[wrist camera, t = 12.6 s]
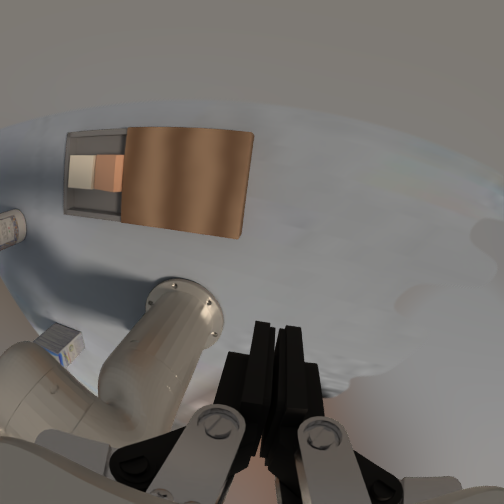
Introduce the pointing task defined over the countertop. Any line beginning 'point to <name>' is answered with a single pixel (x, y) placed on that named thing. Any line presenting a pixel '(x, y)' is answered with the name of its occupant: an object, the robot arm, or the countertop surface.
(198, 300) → the robot arm
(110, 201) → the tray
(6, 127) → the countertop surface
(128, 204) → the walnut board
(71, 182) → the cream tile
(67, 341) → the medicine box
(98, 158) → the terracotta tile
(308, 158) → the countertop surface
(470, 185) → the countertop surface
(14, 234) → the bath foam
